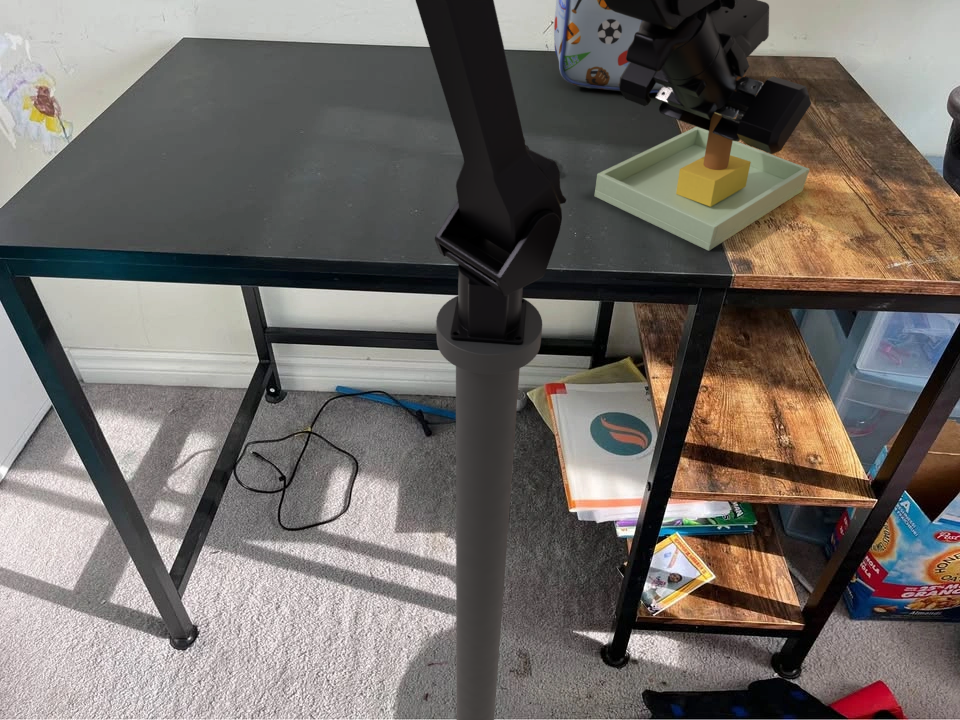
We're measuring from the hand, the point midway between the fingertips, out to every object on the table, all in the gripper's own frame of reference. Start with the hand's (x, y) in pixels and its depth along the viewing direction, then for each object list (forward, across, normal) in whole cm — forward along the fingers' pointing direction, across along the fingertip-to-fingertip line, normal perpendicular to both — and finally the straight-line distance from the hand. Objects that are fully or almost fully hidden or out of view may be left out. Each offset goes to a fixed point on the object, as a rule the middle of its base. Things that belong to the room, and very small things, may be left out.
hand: (728, 132), depth 81 cm
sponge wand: (+3, 0, +6) cm, 6 cm away
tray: (+4, +1, +6) cm, 7 cm away
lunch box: (+19, +26, -9) cm, 33 cm away
